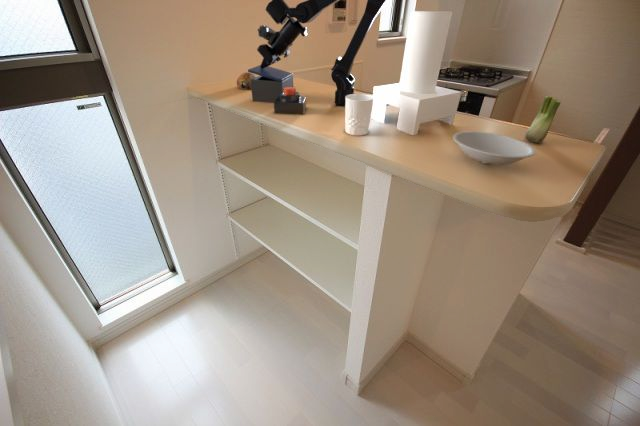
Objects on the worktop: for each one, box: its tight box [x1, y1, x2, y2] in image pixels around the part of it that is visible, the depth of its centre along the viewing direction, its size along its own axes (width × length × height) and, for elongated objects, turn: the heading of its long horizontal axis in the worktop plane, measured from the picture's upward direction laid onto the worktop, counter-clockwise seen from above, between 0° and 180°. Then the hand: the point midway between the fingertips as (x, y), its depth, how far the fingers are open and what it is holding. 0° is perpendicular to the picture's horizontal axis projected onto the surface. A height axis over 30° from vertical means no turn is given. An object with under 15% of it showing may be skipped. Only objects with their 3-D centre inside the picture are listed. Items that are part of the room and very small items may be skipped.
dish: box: [452, 130, 536, 165], centre depth 71 cm, size 18×14×5 cm
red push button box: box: [273, 91, 307, 115], centre depth 105 cm, size 10×8×6 cm
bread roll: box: [236, 71, 257, 90], centre depth 135 cm, size 10×10×8 cm
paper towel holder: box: [370, 10, 462, 136], centre depth 90 cm, size 19×19×30 cm
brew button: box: [284, 86, 297, 95], centre depth 102 cm, size 4×4×2 cm
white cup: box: [344, 93, 374, 137], centre depth 87 cm, size 8×8×10 cm
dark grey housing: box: [250, 75, 294, 104], centre depth 118 cm, size 13×13×8 cm
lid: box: [247, 64, 294, 82], centre depth 115 cm, size 13×13×1 cm
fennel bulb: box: [524, 95, 561, 144], centre depth 81 cm, size 6×5×12 cm
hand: (261, 68), depth 115 cm, fingers closed, pressing on lid
